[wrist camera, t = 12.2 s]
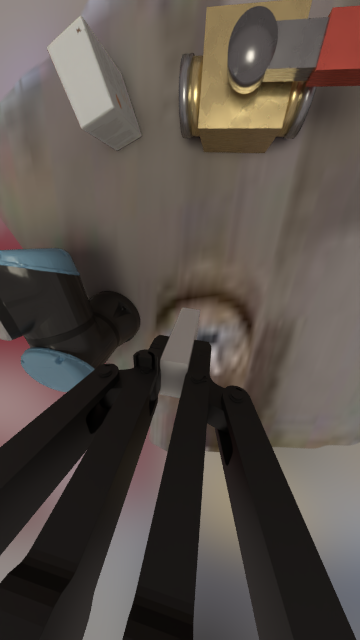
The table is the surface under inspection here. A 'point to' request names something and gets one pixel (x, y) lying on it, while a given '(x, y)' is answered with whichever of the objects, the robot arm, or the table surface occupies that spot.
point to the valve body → (230, 106)
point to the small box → (94, 86)
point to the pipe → (184, 93)
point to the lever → (294, 49)
